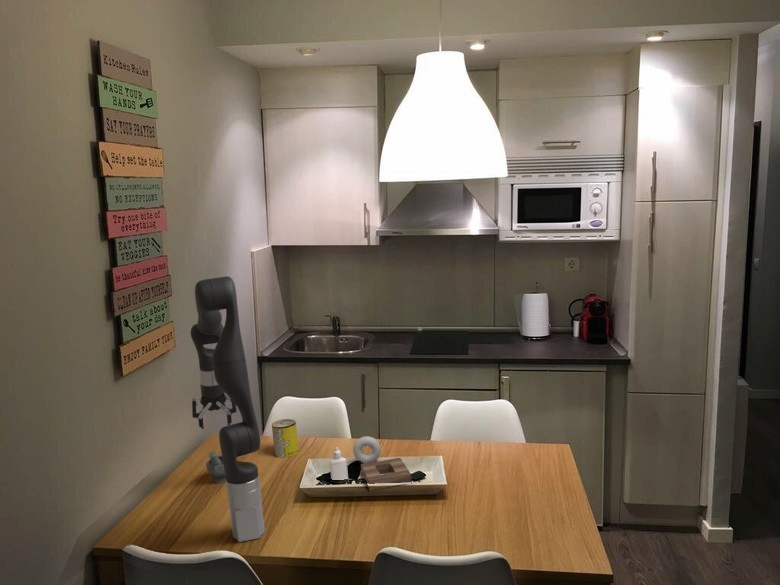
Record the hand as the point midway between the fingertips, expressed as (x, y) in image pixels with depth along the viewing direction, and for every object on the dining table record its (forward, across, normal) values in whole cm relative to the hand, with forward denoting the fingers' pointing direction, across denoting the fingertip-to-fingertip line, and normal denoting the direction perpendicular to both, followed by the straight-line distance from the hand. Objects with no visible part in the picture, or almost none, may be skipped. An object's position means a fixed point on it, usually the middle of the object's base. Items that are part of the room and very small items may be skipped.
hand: (215, 426), depth 226 cm
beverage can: (+23, +25, +18) cm, 39 cm away
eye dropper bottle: (+19, +38, -16) cm, 46 cm away
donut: (+20, +51, -5) cm, 55 cm away
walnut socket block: (+18, +53, -20) cm, 60 cm away
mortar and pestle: (+22, 0, +4) cm, 23 cm away
